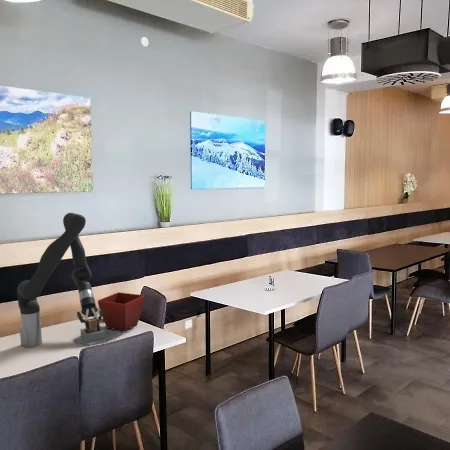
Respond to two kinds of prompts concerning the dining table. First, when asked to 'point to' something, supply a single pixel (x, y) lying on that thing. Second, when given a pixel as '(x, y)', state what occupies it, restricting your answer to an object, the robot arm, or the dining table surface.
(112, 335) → the well board
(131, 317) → the plant pot
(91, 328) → the walnut post
